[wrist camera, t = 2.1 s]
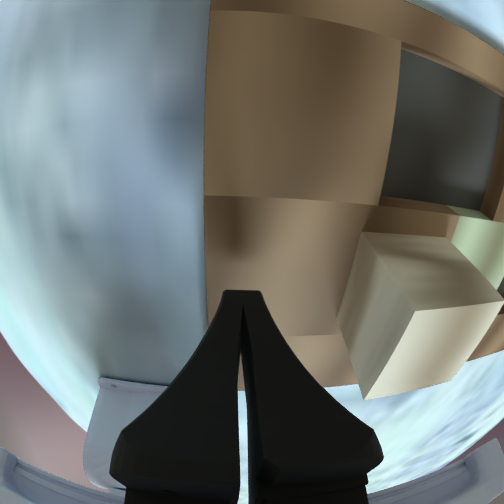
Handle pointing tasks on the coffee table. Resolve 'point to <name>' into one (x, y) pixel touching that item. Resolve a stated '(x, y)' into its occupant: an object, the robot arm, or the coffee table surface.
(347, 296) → the block
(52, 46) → the coffee table surface
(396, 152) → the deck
